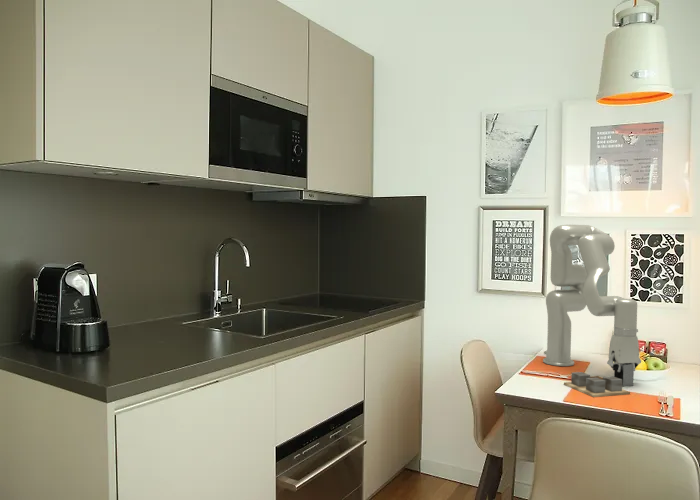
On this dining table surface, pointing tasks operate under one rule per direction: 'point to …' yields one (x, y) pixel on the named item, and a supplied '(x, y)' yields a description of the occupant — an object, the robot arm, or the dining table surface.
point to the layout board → (596, 385)
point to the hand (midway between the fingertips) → (623, 380)
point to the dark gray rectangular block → (627, 374)
